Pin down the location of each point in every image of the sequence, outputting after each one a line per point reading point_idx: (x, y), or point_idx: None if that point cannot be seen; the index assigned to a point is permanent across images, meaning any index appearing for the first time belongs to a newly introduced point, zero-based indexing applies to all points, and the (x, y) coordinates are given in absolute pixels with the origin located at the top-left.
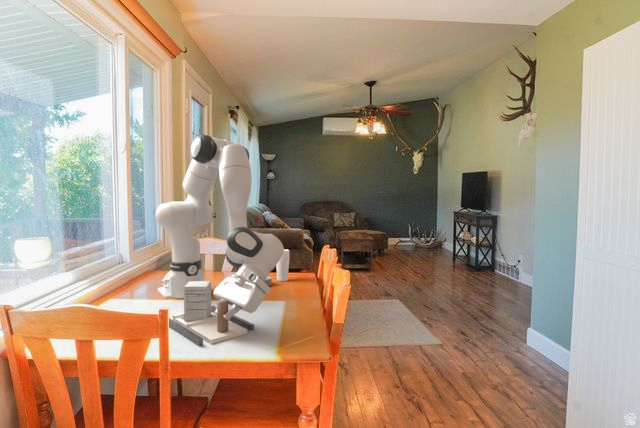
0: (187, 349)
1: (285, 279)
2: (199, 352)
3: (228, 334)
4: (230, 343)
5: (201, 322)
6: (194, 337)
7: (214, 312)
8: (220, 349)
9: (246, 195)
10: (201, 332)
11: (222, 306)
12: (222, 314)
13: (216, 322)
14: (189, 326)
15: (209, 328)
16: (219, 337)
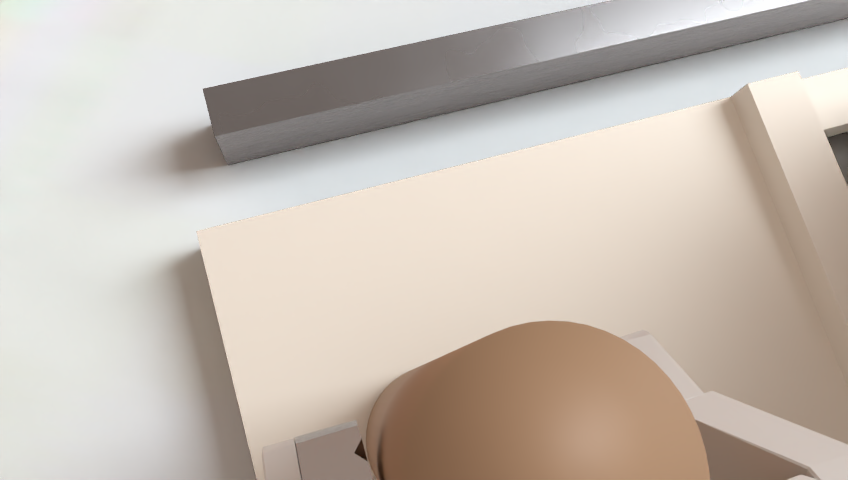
0: (216, 14)
1: None
2: (72, 97)
3: None
4: (134, 462)
5: (800, 243)
6: (320, 66)
7: (637, 331)
8: (23, 310)
9: None
10: (492, 184)
11: (396, 429)
12: (387, 424)
13: None
14: (733, 103)
15: (588, 298)
16: (226, 343)
